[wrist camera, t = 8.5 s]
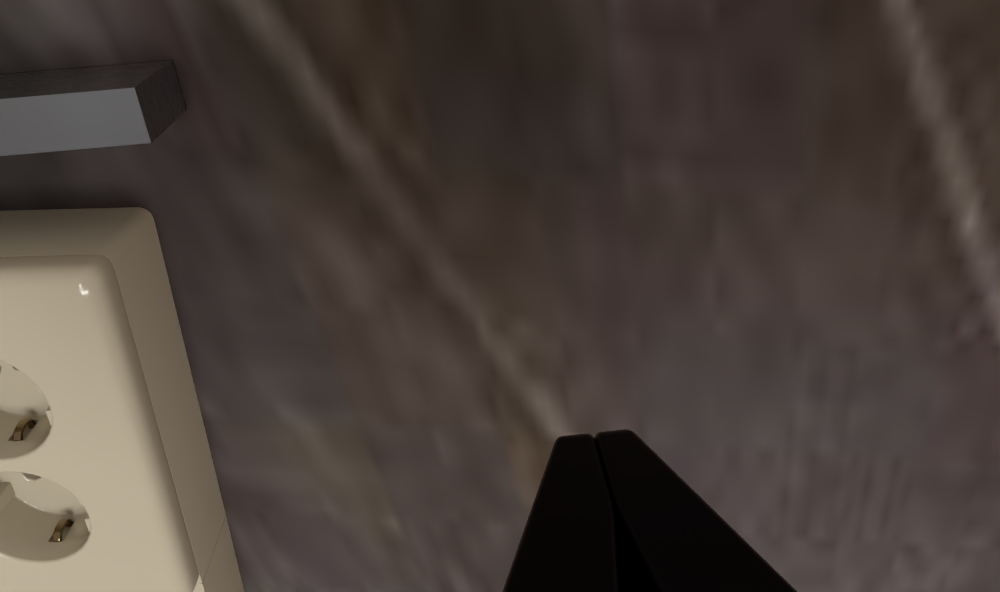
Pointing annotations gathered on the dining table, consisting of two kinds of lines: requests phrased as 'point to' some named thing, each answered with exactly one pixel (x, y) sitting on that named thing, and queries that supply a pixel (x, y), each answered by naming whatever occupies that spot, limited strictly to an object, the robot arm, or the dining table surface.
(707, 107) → the dining table surface
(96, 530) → the electrical outlet
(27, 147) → the bracket rack
